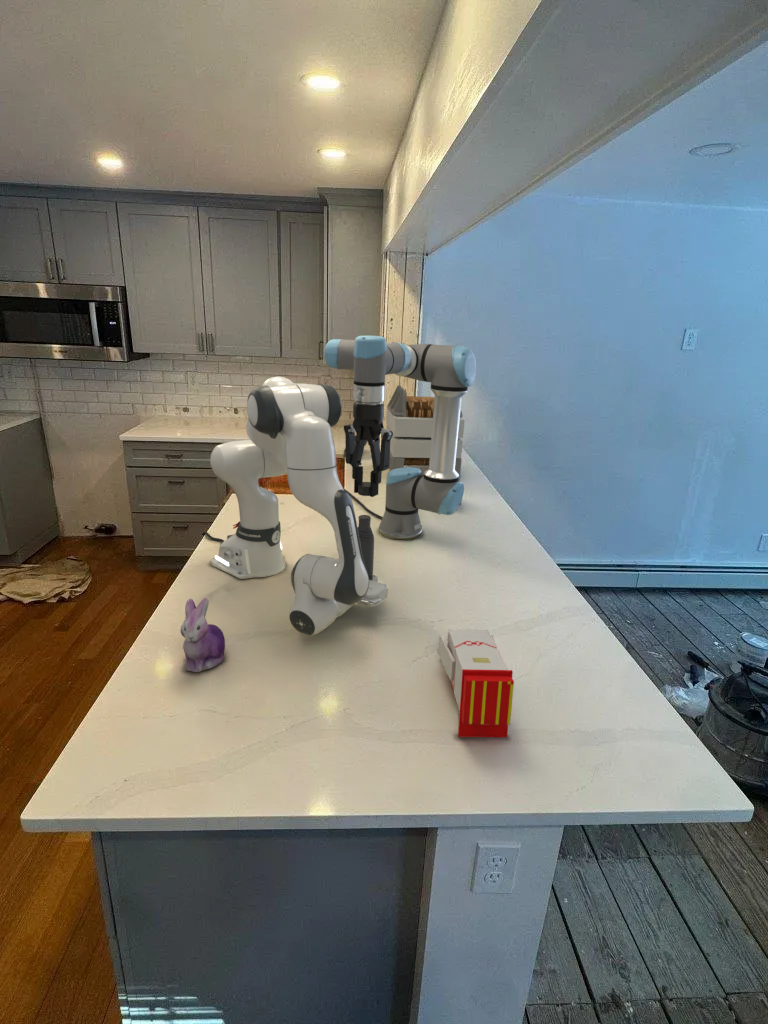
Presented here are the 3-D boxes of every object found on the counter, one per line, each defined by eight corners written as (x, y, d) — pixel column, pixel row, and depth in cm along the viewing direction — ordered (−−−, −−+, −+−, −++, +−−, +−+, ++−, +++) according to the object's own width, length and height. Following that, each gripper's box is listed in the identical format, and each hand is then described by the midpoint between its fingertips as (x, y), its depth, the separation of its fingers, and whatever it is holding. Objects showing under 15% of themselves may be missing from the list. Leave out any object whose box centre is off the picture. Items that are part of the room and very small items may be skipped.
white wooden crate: (382, 463, 289) (386, 382, 275) (445, 464, 293) (451, 384, 279) (390, 482, 257) (394, 392, 243) (460, 483, 261) (468, 394, 247)
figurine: (186, 679, 118) (181, 616, 113) (179, 653, 127) (173, 593, 122) (232, 668, 122) (228, 607, 117) (221, 644, 131) (218, 585, 126)
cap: (375, 496, 144) (375, 486, 143) (358, 496, 144) (358, 486, 143) (373, 490, 148) (373, 481, 147) (356, 490, 148) (357, 481, 147)
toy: (488, 613, 130) (523, 677, 101) (484, 667, 133) (517, 744, 104) (435, 612, 130) (455, 676, 101) (432, 666, 133) (451, 743, 103)
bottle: (349, 592, 157) (351, 513, 149) (368, 590, 159) (371, 512, 151) (354, 602, 152) (357, 521, 144) (374, 600, 154) (377, 519, 146)
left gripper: (374, 594, 137) (399, 573, 149) (304, 574, 146) (332, 556, 157) (373, 617, 139) (397, 594, 151) (304, 596, 148) (332, 576, 160)
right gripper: (330, 399, 139) (330, 490, 147) (390, 408, 130) (386, 504, 139) (349, 396, 145) (347, 483, 153) (407, 404, 136) (402, 496, 144)
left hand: (364, 574), depth 154 cm, fingers closed on bottle, 5 cm apart
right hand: (366, 493), depth 146 cm, fingers closed on cap, 4 cm apart
